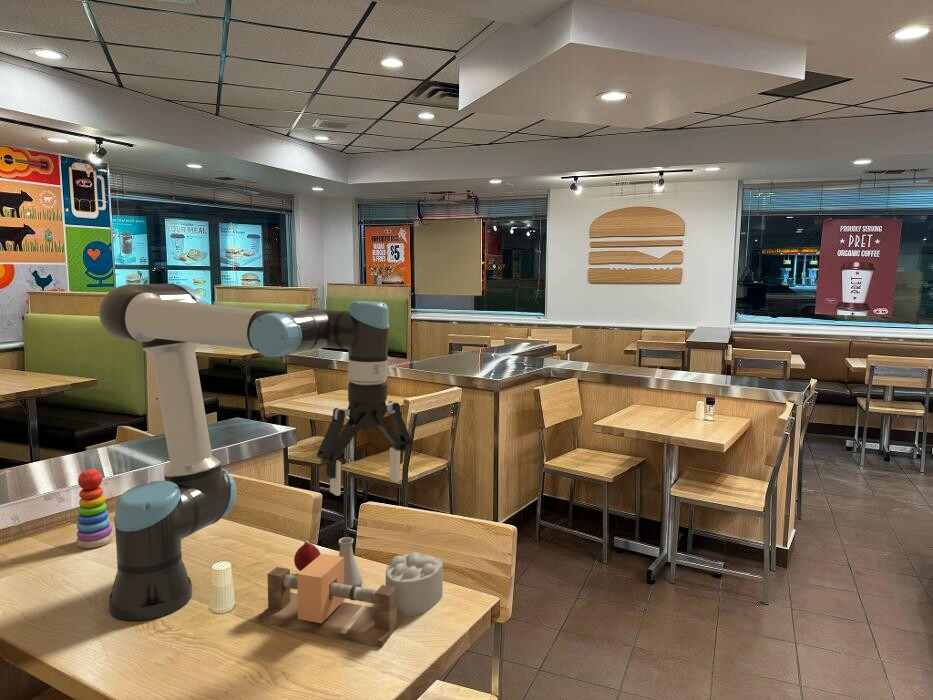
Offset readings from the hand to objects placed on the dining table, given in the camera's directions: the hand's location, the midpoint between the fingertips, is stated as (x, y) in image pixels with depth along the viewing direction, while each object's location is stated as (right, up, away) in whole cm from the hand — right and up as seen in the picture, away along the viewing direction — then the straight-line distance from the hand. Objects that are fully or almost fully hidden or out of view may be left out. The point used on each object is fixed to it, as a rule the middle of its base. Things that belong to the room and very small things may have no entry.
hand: (365, 486), depth 123 cm
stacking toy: (-72, -21, +30) cm, 80 cm away
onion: (-16, -23, +16) cm, 32 cm away
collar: (-8, -23, -2) cm, 25 cm away
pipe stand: (-6, -26, -2) cm, 26 cm away
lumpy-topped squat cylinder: (+9, -25, +6) cm, 27 cm away
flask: (-6, -24, +12) cm, 28 cm away
